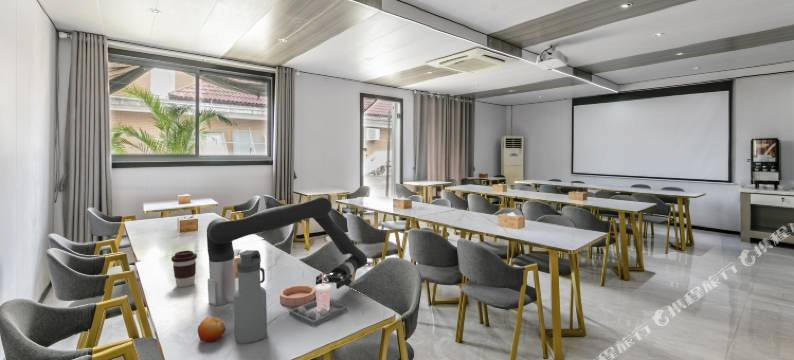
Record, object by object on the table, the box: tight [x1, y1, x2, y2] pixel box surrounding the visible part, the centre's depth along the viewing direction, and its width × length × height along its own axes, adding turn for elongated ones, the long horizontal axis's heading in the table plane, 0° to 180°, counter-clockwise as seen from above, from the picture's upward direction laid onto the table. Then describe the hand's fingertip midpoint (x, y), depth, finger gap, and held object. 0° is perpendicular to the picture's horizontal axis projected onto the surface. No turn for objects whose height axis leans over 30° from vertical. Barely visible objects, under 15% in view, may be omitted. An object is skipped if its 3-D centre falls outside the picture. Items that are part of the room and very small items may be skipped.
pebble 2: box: [307, 310, 317, 321], centre depth 130 cm, size 3×3×3 cm
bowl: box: [279, 284, 316, 307], centre depth 149 cm, size 14×14×3 cm
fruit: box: [197, 316, 226, 344], centre depth 116 cm, size 8×8×8 cm
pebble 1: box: [297, 305, 307, 316], centre depth 134 cm, size 3×3×3 cm
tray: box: [288, 299, 348, 327], centre depth 136 cm, size 16×14×2 cm
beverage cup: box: [314, 272, 332, 312], centre depth 138 cm, size 6×6×14 cm
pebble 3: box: [318, 308, 329, 317], centre depth 132 cm, size 3×3×3 cm
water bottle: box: [233, 249, 268, 344], centre depth 117 cm, size 10×10×28 cm
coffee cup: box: [170, 250, 198, 288], centre depth 165 cm, size 10×10×15 cm
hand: (327, 285), depth 142 cm, fingers open, 8 cm apart
